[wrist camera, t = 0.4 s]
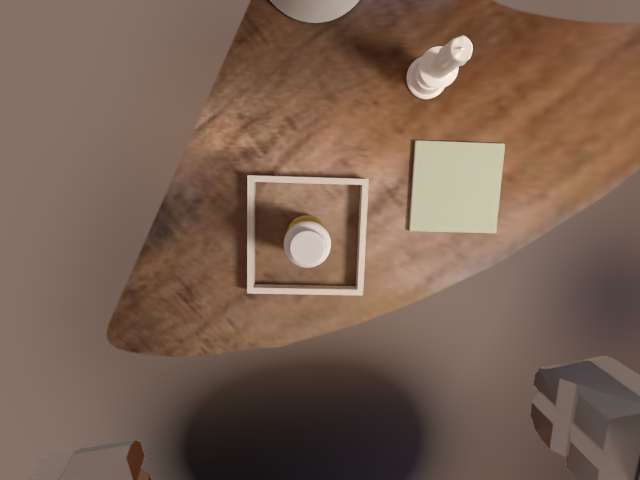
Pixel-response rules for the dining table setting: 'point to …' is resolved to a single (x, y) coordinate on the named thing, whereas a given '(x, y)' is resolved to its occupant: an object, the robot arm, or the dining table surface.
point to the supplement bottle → (307, 241)
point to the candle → (438, 67)
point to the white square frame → (305, 288)
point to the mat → (456, 186)
